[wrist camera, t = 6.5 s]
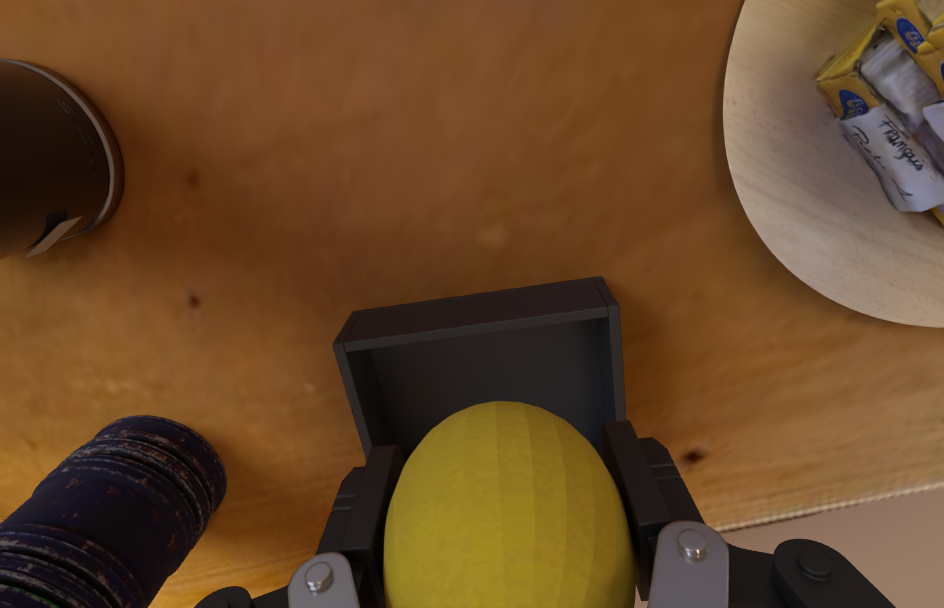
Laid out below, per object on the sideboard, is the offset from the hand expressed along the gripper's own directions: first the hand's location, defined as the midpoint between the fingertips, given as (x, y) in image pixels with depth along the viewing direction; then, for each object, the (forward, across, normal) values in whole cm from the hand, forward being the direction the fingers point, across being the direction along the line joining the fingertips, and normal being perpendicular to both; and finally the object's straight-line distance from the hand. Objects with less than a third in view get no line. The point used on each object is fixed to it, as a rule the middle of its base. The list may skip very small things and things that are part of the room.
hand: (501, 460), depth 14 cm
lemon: (+2, 0, 0) cm, 2 cm away
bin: (+17, +1, +8) cm, 19 cm away
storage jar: (+18, +26, +12) cm, 33 cm away
